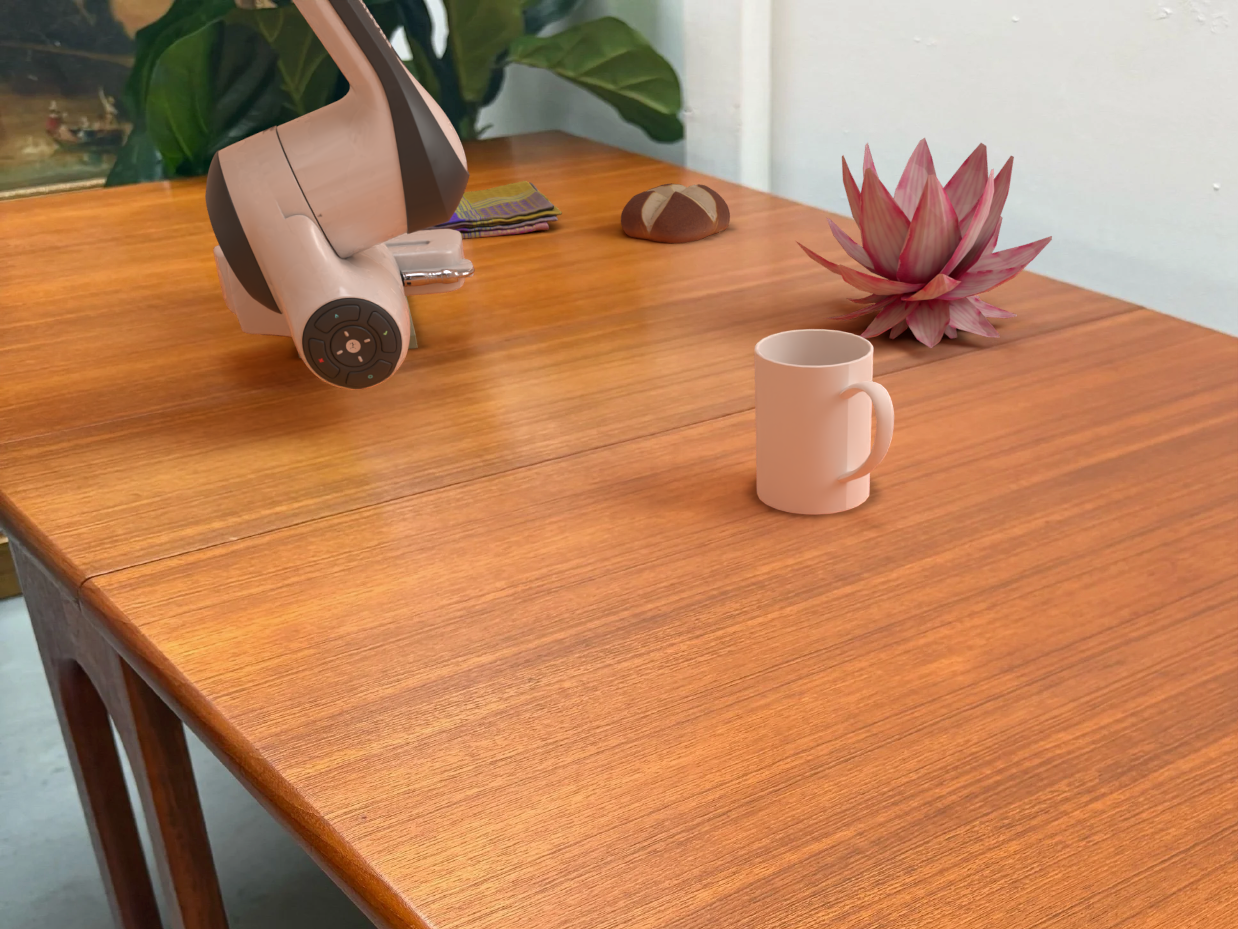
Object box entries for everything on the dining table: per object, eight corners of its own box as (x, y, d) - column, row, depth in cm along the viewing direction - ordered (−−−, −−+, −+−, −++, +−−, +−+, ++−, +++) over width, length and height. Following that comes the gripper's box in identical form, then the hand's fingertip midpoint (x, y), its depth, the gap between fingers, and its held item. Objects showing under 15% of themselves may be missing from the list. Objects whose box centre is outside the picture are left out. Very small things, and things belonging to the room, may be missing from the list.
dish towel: (328, 214, 173) (323, 188, 171) (539, 198, 179) (537, 174, 177) (336, 252, 159) (332, 225, 157) (565, 234, 165) (563, 208, 163)
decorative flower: (760, 318, 139) (757, 144, 131) (953, 287, 148) (962, 121, 139) (880, 387, 124) (885, 194, 115) (1088, 347, 132) (1107, 164, 124)
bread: (746, 229, 166) (745, 182, 164) (680, 251, 159) (678, 202, 156) (668, 215, 172) (666, 169, 169) (601, 236, 164) (598, 188, 161)
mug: (735, 490, 106) (731, 342, 100) (826, 466, 110) (828, 321, 104) (835, 551, 98) (837, 393, 92) (930, 523, 101) (938, 369, 96)
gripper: (472, 235, 121) (456, 197, 132) (204, 254, 116) (211, 212, 127) (481, 315, 124) (465, 270, 135) (222, 336, 120) (227, 288, 131)
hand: (340, 242), depth 131 cm, fingers open, 8 cm apart
